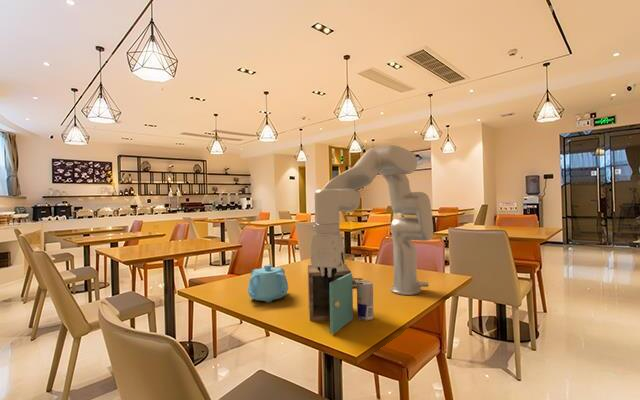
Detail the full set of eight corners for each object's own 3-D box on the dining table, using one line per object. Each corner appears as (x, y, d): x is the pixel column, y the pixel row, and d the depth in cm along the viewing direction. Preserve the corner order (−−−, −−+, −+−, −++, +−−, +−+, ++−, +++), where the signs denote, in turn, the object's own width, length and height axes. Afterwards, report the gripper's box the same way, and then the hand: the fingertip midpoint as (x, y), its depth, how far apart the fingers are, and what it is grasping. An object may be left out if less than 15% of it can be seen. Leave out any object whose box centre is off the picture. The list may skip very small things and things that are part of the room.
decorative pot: (251, 293, 142) (250, 261, 142) (288, 291, 143) (288, 260, 143) (245, 305, 126) (243, 270, 126) (287, 303, 127) (286, 268, 127)
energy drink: (356, 315, 113) (355, 280, 113) (371, 314, 113) (370, 280, 113) (359, 321, 107) (358, 285, 107) (375, 320, 108) (374, 284, 108)
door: (350, 318, 109) (349, 273, 109) (356, 319, 108) (355, 273, 108) (330, 333, 97) (329, 282, 97) (336, 334, 96) (335, 283, 96)
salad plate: (357, 278, 165) (357, 269, 165) (370, 287, 148) (370, 277, 148) (319, 281, 161) (319, 272, 161) (329, 291, 144) (329, 281, 143)
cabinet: (346, 307, 122) (345, 264, 122) (351, 318, 110) (350, 271, 110) (308, 308, 121) (307, 265, 121) (309, 320, 109) (308, 272, 109)
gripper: (300, 229, 102) (301, 288, 102) (342, 231, 94) (343, 295, 94) (314, 227, 108) (315, 283, 108) (354, 229, 100) (355, 289, 100)
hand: (328, 288), depth 101 cm, fingers closed
